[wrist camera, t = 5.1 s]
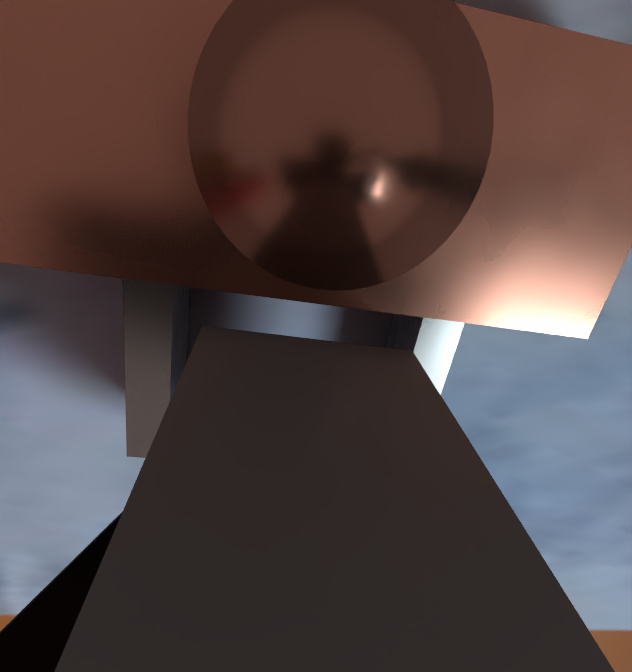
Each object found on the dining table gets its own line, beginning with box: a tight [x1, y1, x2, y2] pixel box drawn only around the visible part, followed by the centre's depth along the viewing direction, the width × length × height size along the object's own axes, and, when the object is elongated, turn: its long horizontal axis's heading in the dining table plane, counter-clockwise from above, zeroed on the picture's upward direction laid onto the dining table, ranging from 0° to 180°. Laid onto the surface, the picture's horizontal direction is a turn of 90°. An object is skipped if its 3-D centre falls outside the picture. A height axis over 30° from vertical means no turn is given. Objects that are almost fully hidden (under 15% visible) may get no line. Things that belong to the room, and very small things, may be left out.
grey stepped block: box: [55, 326, 614, 672], centre depth 6 cm, size 4×6×7 cm, turn 170°
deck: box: [0, 0, 632, 458], centre depth 9 cm, size 12×10×4 cm
